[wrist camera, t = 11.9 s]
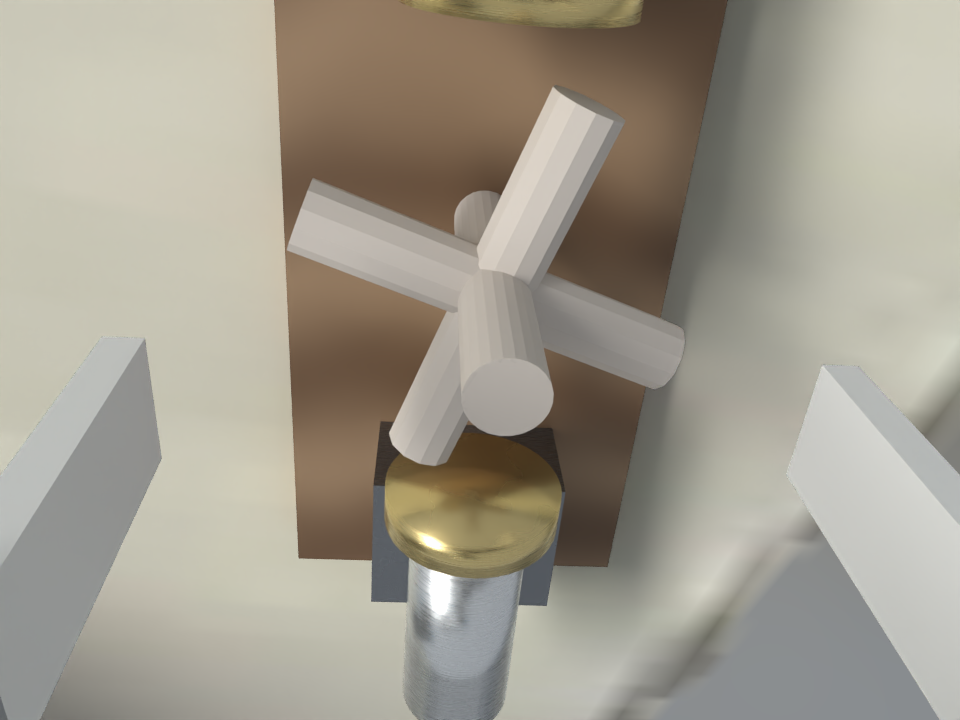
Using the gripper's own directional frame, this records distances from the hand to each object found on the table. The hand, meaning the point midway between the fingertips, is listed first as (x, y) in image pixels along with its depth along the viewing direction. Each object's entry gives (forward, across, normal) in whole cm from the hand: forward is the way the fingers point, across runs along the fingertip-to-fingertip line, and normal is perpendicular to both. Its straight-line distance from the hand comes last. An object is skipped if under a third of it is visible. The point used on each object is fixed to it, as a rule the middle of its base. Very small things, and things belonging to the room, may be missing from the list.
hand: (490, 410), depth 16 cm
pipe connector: (+10, 0, 0) cm, 10 cm away
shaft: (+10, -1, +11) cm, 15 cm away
